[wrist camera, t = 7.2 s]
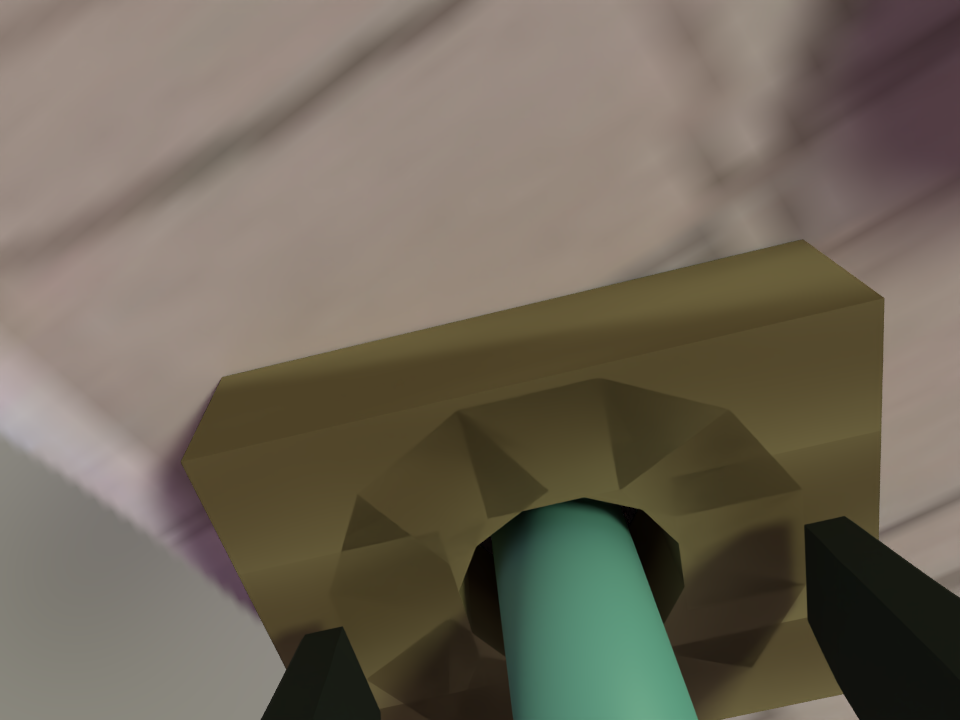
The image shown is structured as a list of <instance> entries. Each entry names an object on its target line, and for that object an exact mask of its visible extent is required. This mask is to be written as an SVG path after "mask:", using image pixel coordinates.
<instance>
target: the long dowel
mask: <svg viewBox="0 0 960 720" xmlns="http://www.w3.org/2000/svg"><path fill="white" fill-rule="evenodd" d="M491 540H492V548H493V556H494V565H495V573H496V581H497V589H498V598H499V606H500V614H501V623H502V631H503V639H504V647H505V656H506V664H507V672H508V681H509V689H510V697H511V705H512V714H513V720H698V718H697V715H696V712H695V709H694V707H693V704H692V701H691V698H690V696H689V693H688V690H687V687H686V685H685V682H684V679H683V677H682V674H681V671H680V668H679V666H678V663H677V660H676V657H675V655H674V652H673V649H672V646H671V644H670V641H669V638H668V635H667V633H666V630H665V627H664V625H663V622H662V619H661V616H660V614H659V611H658V608H657V605H656V603H655V600H654V597H653V594H652V592H651V589H650V586H649V583H648V581H647V578H646V575H645V573H644V570H643V567H642V564H641V562H640V559H639V556H638V553H637V551H636V548H635V545H634V542H633V540H632V537H631V534H630V531H629V529H628V526H627V523H626V520H625V518H624V515H623V512H622V510H621V507H620V505H618V504H614V503H609V502H604V501H600V500H595V499H590V498H585V497H583V498H579V499H574V500H570V501H565V502H561V503H556V504H552V505H548V506H543V507H539V508H534V509H530V510H525V511H522V512H521V513H519V514H518V515H517V516H515V517H514V518H513V519H511V520H510V521H509V522H508V523H506V524H505V525H504V526H502V527H501V528H500V529H498V530H497V531H496V532H495V533H493V534H492V535H491Z"/></svg>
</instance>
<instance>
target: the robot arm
mask: <svg viewBox="0 0 960 720" xmlns="http://www.w3.org/2000/svg"><path fill="white" fill-rule="evenodd" d="M804 536H805V564H806V592H807V620H808V623H809V625H810V627H811V629H812V631H813V633H814V636H815V638H816V640H817V642H818V644H819V646H820V648H821V651H822V653H823V655H824V657H825V659H826V661H827V663H828V665H829V667H830V669H831V671H832V673H833V675H834V677H835V679H836V682H837V684H838V685H839V687H840V689H841V690H842V692H843V694H844V695H845V697H846V699H847V700H848V702H849V704H850V705H851V707H852V708H853V710H854V712H855V713H856V715H857V717H858V718H859V720H960V598H959V597H958V596H956V595H955V594H953V593H952V592H950V591H949V590H948V589H946V588H945V587H943V586H942V585H940V584H939V583H937V582H936V581H935V580H933V579H932V578H930V577H929V576H927V575H926V574H925V573H923V572H922V571H920V570H919V569H918V568H916V567H915V566H913V565H912V564H911V563H909V562H908V561H906V560H905V559H904V558H902V557H901V556H900V555H898V554H897V553H895V552H894V551H893V550H891V549H890V548H889V547H887V546H886V545H884V544H883V543H882V542H880V541H879V540H878V539H876V538H875V537H874V536H872V535H871V534H869V533H868V532H867V531H865V530H864V529H863V528H861V527H860V526H859V525H857V524H856V523H854V522H853V521H852V520H850V519H849V518H847V517H845V516H842V517H837V518H833V519H828V520H824V521H819V522H815V523H810V524H805V525H804ZM261 720H381V712H380V709H379V707H378V705H377V702H376V700H375V698H374V696H373V693H372V691H371V689H370V687H369V684H368V682H367V680H366V677H365V675H364V673H363V671H362V668H361V666H360V664H359V662H358V659H357V657H356V655H355V652H354V650H353V648H352V646H351V643H350V641H349V639H348V637H347V634H346V632H345V630H344V628H343V626H341V627H337V628H332V629H328V630H323V631H319V632H314V633H310V634H305V636H304V637H303V639H302V640H301V642H300V644H299V646H298V647H297V649H296V651H295V653H294V655H293V657H292V659H291V661H290V663H289V665H288V667H287V669H286V671H285V673H284V676H283V678H282V679H281V681H280V683H279V685H278V687H277V689H276V691H275V693H274V695H273V697H272V699H271V701H270V703H269V705H268V707H267V709H266V711H265V713H264V715H263V717H262V718H261Z"/></svg>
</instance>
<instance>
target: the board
mask: <svg viewBox="0 0 960 720" xmlns="http://www.w3.org/2000/svg"><path fill="white" fill-rule="evenodd" d="M883 336H884V298H883V297H882V296H881V295H879V294H878V293H876V292H875V291H874V290H872V289H871V288H870V287H868V286H867V285H865V284H864V283H863V282H861V281H860V280H858V279H857V278H856V277H854V276H853V275H852V274H850V273H849V272H847V271H846V270H845V269H843V268H842V267H841V266H839V265H838V264H836V263H835V262H834V261H832V260H831V259H829V258H828V257H827V256H825V255H824V254H823V253H821V252H820V251H818V250H817V249H816V248H814V247H813V246H811V245H810V244H809V243H807V242H806V241H805V240H798V241H794V242H790V243H786V244H782V245H777V246H773V247H769V248H765V249H760V250H756V251H752V252H748V253H744V254H739V255H735V256H731V257H727V258H723V259H718V260H714V261H710V262H706V263H702V264H697V265H693V266H689V267H685V268H680V269H676V270H672V271H668V272H664V273H659V274H655V275H651V276H647V277H643V278H638V279H634V280H630V281H626V282H622V283H617V284H613V285H609V286H605V287H601V288H596V289H592V290H588V291H584V292H579V293H575V294H571V295H567V296H563V297H558V298H554V299H550V300H546V301H542V302H537V303H533V304H529V305H525V306H521V307H516V308H512V309H508V310H504V311H499V312H495V313H491V314H487V315H483V316H478V317H474V318H470V319H466V320H462V321H457V322H453V323H449V324H445V325H441V326H436V327H432V328H428V329H424V330H419V331H415V332H411V333H407V334H403V335H398V336H394V337H390V338H386V339H382V340H377V341H373V342H369V343H365V344H361V345H356V346H352V347H348V348H344V349H339V350H335V351H331V352H327V353H323V354H318V355H314V356H310V357H306V358H302V359H297V360H293V361H289V362H285V363H281V364H276V365H272V366H268V367H264V368H260V369H255V370H251V371H247V372H243V373H238V374H234V375H230V376H226V377H222V379H221V381H220V383H219V385H218V387H217V389H216V391H215V393H214V395H213V397H212V399H211V401H210V403H209V405H208V407H207V409H206V411H205V413H204V415H203V418H202V420H201V422H200V424H199V426H198V428H197V430H196V432H195V434H194V436H193V438H192V440H191V442H190V444H189V446H188V448H187V450H186V452H185V454H184V456H183V458H182V460H181V464H182V466H183V467H184V469H185V471H186V473H187V475H188V477H189V479H190V481H191V483H192V485H193V487H194V489H195V491H196V493H197V495H198V497H199V499H200V501H201V503H202V505H203V507H204V509H205V511H206V513H207V515H208V517H209V519H210V521H211V522H212V524H213V526H214V528H215V530H216V532H217V534H218V536H219V538H220V540H221V542H222V544H223V546H224V548H225V550H226V552H227V554H228V556H229V558H230V560H231V562H232V564H233V566H234V568H235V570H236V572H237V574H238V576H239V577H240V579H241V581H242V583H243V585H244V587H245V589H246V591H247V593H248V595H249V597H250V599H251V601H252V603H253V605H254V607H255V609H256V611H257V613H258V615H259V617H260V619H261V621H262V623H263V625H264V627H265V629H266V631H267V632H268V634H269V636H270V638H271V640H272V642H273V644H274V646H275V648H276V650H277V652H278V654H279V656H280V658H281V660H282V662H283V664H284V666H285V668H286V669H287V667H288V665H289V663H290V661H291V659H292V657H293V655H294V653H295V651H296V649H297V647H298V646H299V644H300V642H301V640H302V639H303V637H304V636H305V634H310V633H314V632H319V631H323V630H328V629H332V628H337V627H341V626H343V628H344V630H345V632H346V634H347V637H348V639H349V641H350V643H351V646H352V648H353V650H354V652H355V655H356V657H357V659H358V662H359V664H360V666H361V668H362V671H363V673H364V675H365V677H366V680H367V682H368V684H369V687H370V689H371V691H372V693H373V696H374V698H375V700H376V702H377V705H378V707H379V709H380V712H381V720H513V714H512V705H511V697H510V689H509V681H508V672H507V664H506V656H505V647H504V639H503V631H502V623H501V614H500V606H499V598H498V589H497V581H496V573H495V565H494V556H492V555H491V554H490V553H489V552H487V551H486V550H485V549H483V548H482V547H481V546H480V545H479V544H480V543H481V542H483V541H484V540H485V539H487V538H488V537H489V536H491V535H492V534H493V533H495V532H496V531H497V530H498V529H500V528H501V527H502V526H504V525H505V524H506V523H508V522H509V521H510V520H511V519H513V518H514V517H515V516H517V515H518V514H519V513H521V512H522V511H525V510H530V509H534V508H539V507H543V506H548V505H552V504H556V503H561V502H565V501H570V500H574V499H579V498H583V497H585V498H590V499H595V500H600V501H604V502H609V503H614V504H618V505H623V506H628V507H633V508H637V509H638V510H637V512H636V514H635V516H634V518H633V520H632V522H631V524H630V526H629V528H628V529H629V531H630V534H631V537H632V540H633V542H634V545H635V548H636V551H637V553H638V556H639V559H640V562H641V564H642V567H643V570H644V573H645V575H646V578H647V581H648V583H649V586H650V589H651V592H652V594H653V597H654V600H655V603H656V605H657V608H658V611H659V614H660V616H661V619H662V622H663V625H664V627H665V630H666V633H667V635H668V638H669V641H670V644H671V646H672V649H673V652H674V655H675V657H676V660H677V663H678V666H679V668H680V671H681V674H682V677H683V679H684V682H685V685H686V687H687V690H688V693H689V696H690V698H691V701H692V704H693V707H694V709H695V712H696V715H697V718H698V720H721V719H726V718H731V717H736V716H740V715H745V714H750V713H755V712H760V711H764V710H769V709H774V708H779V707H784V706H788V705H793V704H798V703H803V702H807V701H812V700H817V699H822V698H827V697H831V696H836V695H841V694H843V692H842V690H841V689H840V687H839V685H838V684H837V682H836V679H835V677H834V675H833V673H832V671H831V669H830V667H829V665H828V663H827V661H826V659H825V657H824V655H823V653H822V651H821V648H820V646H819V644H818V642H817V640H816V638H815V636H814V633H813V631H812V629H811V627H810V625H809V623H808V620H807V592H806V564H805V536H804V525H805V524H810V523H815V522H819V521H824V520H828V519H833V518H837V517H842V516H845V517H847V518H849V519H850V520H852V521H853V522H854V523H856V524H857V525H859V526H860V527H861V528H863V529H864V530H865V531H867V532H868V533H869V534H871V535H872V536H874V537H875V538H876V539H878V540H879V500H880V459H881V418H882V377H883Z"/></svg>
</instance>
